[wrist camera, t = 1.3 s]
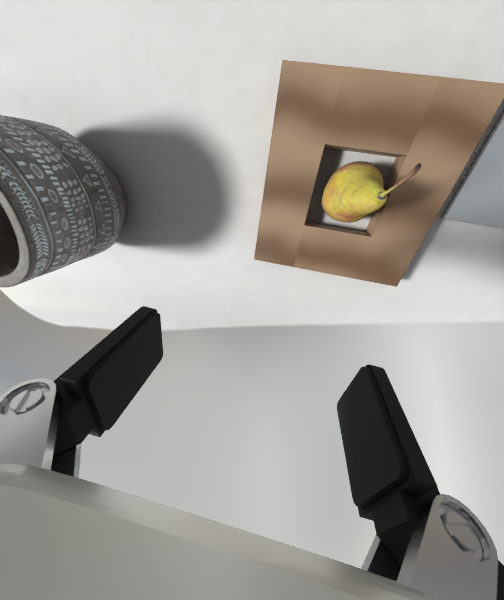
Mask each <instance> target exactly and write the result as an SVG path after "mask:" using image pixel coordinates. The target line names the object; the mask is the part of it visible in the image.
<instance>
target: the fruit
mask: <svg viewBox="0 0 504 600" xmlns="http://www.w3.org/2000/svg"><path fill="white" fill-rule="evenodd" d="M420 168H421V164H420V163H418V164H417V165H416V166H415V167H414V169H413V170H412V171H411V172H410V173H409V174H408V175H407V176H405V177H404V178H403V179H402V180H400V181H399V182H398V183H397V184H395V185H394V186H393V187H391V188H389V189H388V190H387V191H385V190H384V188H383V178H382V175H381V173H380V171H379V170H378V168H377V167H376V166H374V165H373V164H371V163H368V162H362V161H359V162H352V163H349V164H346V165H344V166H342V167H341V168H339V169H338V170H336V171H335V172H334V173H333V175H332V176H331V177H330V179H329V181H328V183H327V185H326V187H325V189H324V192H323V197H322V208H323V209H324V211H325V212H326V213H327V214H328V215H329V216H330V217H331V218H333V219H335V220H338V221H342V222H349V223H350V222H355V221H358V220H360V219H362V218H363V217H364V216H366V215H367V214H369V213H372V212H374V211H376V210H378V209H379V208H381V207H382V206H383V205H384V203H385V202H386V200H387V194H388V193H389V192H391V191H392V190H394V189H395V188H396V187H398V186H399V185H401V184H402V183H404V182H405V181H407V180H408V179H410V178H411V177H412V176H414V175H415V174H416V173H417V172H418V171H419V170H420Z"/></svg>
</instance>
